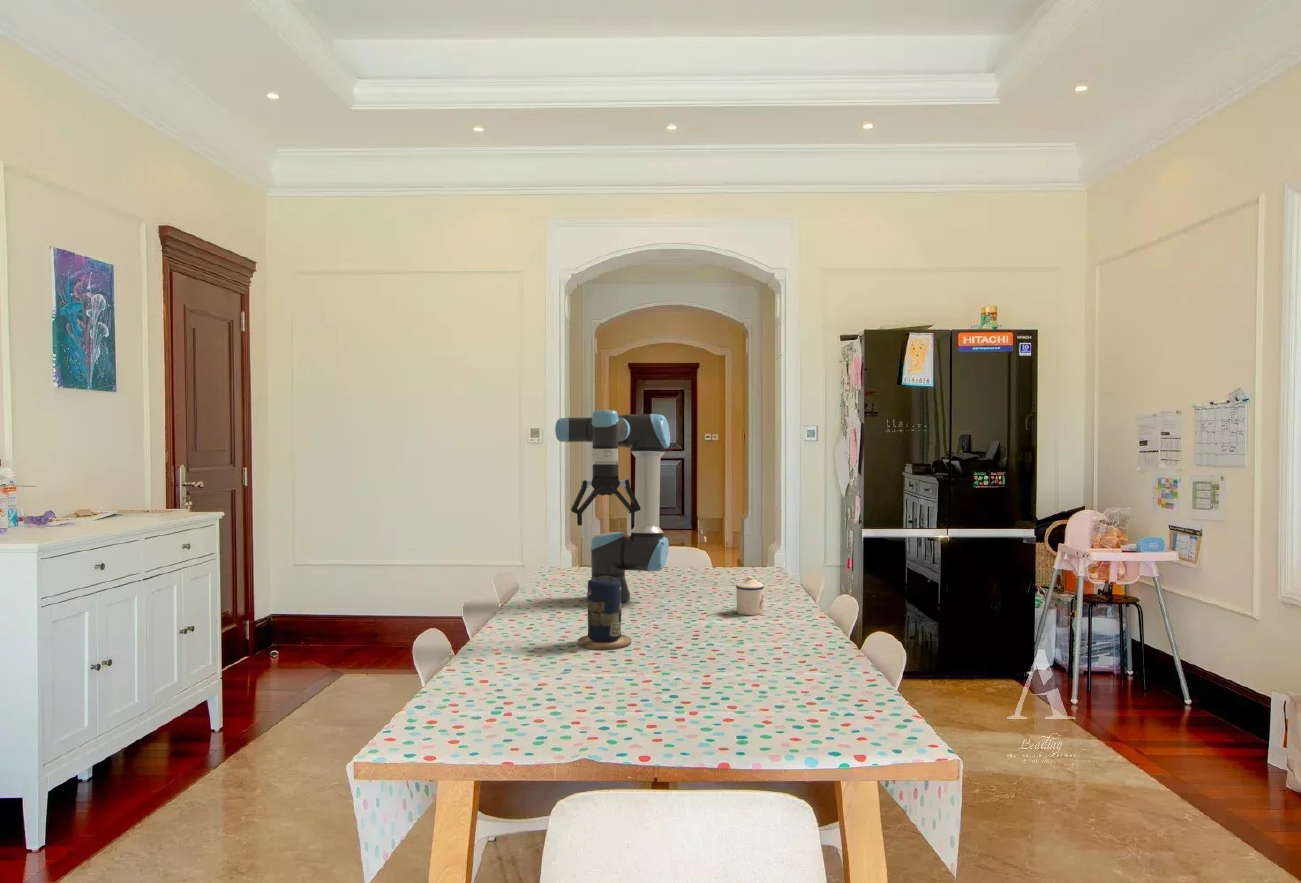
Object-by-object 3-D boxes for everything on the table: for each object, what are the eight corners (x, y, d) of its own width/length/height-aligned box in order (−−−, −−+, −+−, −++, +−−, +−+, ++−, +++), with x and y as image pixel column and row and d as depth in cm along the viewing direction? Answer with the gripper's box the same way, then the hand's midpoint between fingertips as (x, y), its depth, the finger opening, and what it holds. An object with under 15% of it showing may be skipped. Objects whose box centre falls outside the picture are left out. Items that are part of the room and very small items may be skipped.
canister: (588, 635, 240) (587, 572, 239) (621, 634, 240) (620, 572, 240) (587, 644, 230) (586, 579, 230) (621, 643, 230) (621, 578, 230)
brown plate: (566, 644, 234) (566, 641, 234) (601, 633, 245) (601, 630, 245) (607, 653, 224) (607, 649, 224) (642, 641, 236) (642, 638, 236)
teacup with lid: (766, 615, 266) (766, 579, 266) (738, 616, 266) (737, 579, 266) (759, 607, 278) (759, 572, 278) (732, 607, 278) (732, 572, 278)
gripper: (564, 464, 237) (564, 539, 238) (650, 463, 243) (650, 536, 243) (561, 463, 245) (561, 535, 245) (644, 461, 250) (645, 532, 251)
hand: (606, 536), depth 244 cm, fingers open, 13 cm apart
